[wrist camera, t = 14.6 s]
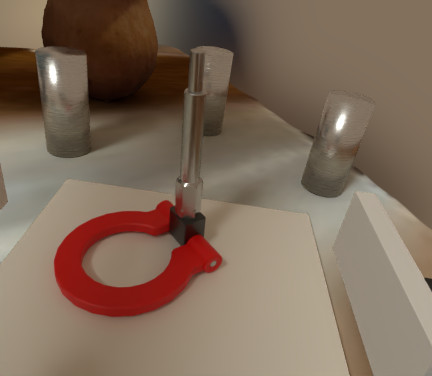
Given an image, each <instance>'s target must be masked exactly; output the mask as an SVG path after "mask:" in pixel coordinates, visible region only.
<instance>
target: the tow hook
mask: <svg viewBox="0 0 432 376" xmlns="http://www.w3.org/2000/svg"><path fill="white" fill-rule="evenodd" d="M204 65H205V51H204V50H202V49H191V50H190V64H189V83H188V88H186V89H185V90H184V105H183V127H182V148H181V170H180V177H179V178H177V180H176V195H175V203H176V204H175V206H174V205H173V204H172V203H171V202H170V201H168V200H164V201H162V202H160V203H159V204H158V205H157V206H156V209H155V210H152V211H149V212H143V211H120V212H114V213H108V214H105V215H102V216H99V217H96V218H93V219H91V220H89V221H87V222H85V223H83V224H81V225H80V226H78V227H77V228H75V229H74V230H73V231H72V232H71V233H69V234H68V235H67V236H66V237H65V239H64V240H63V241H62V243H61V244H60V246H59V247H58V249H57V252H56V255H55V258H54V272H55V278H56V282H57V284H58V286H59V288H60V290H61V292H62V294H63V295H64V296H65V297H66V298H67V299H68V300H69V301H70V302H72V303H73V304H74V305H75V306H77V307H79V308H81V309H84V310H86V311H88V312H90V313H93V314H99V315H105V316H110V317H118V316H134V315H138V314H142V313H145V312H149V311H153V310H155V309H157V308H159V307H161V306H163V305H165V304H167V303H168V302H170V301H172V300H173V299H174V298H175V297H176V296H177V295H178V294H180V293H181V292H182V291H183V290H184V289H185V287H186V285H187V284H188V282H189V281H190V279H191V278H192V275H194V274H196V273H198V272H201V271H203V270H204V271H205V272H206V273H211V272H213V271H215V270H216V269H217V268H218V267H219V266H220V265H221V263H222V256H221V255H220V254H219V253H218V252H217V251H216V250H215V249H214V248H213V247H212V246H211V245H210V244H209V243H208V241H207V240H206V239H205V238H204V232H205V222H206V217H205V216H204V215H203V214H202V213H201V212H200V210H201V205H200V204H201V199H202V187H203V181H202V179H201V178H200V164H201V152H202V140H203V127H204V115H205V102H206V91H205V90H204V89H203V78H204ZM124 231H138V232H144V233H148V234H150V235H159V234H162V233H165V232H167V231H169V232H170V234H171V235H172V236H173V237H174V238H175V240H176V241H177V242H178V243H179V244H180V247H178V248H175V249H173V251H172V252H171V259H170V262H169V264H168V266H167V267H166V269H165V270H164V271H163V272H162V273H161V274H160V275H158V276H157V277H156V278H154V279H152V280H150V281H148V282H146V283H144V284H140V285H136V286H132V287H113V286H107V285H104V284H101V283H99V282H97V281H94V280H93V279H92V278H91V277H89V276H88V275H87V274H86V272H85V271H84V269H83V267H82V261H83V257H84V255H85V254H86V252H87V250H88V249H89V248H90V247H91V246H92V245H93V244H94V243H95V242H97V241H98V240H100V239H102V238H103V237H106V236H108V235H111V234H114V233H119V232H124Z"/></svg>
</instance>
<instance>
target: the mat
mask: <svg viewBox="0 0 432 376" xmlns="http://www.w3.org/2000/svg"><path fill="white" fill-rule="evenodd" d="M164 200H168V201H170V202H171V203H172V204H173V205H174V206H175V204H176V203H175V195H174V194H168V193H161V192H154V191H147V190H141V189H134V188H127V187H120V186H114V185H107V184H100V183H93V182H86V181H80V180H73V179H67V180H66V181H65V182H64V184H63V185H62V186H61V187H60V189H59V190H58V191H57V193H56V194H55V195H54V196H53V198H52V199H51V200H50V201H49V203H48V204H47V205H46V207H45V208H44V209H43V210H42V212H41V213H40V214H39V216H38V217H37V218H36V219H35V221H34V222H33V223H32V225H31V226H30V227H29V228H28V230H27V231H26V232H25V234H24V235H23V236H22V237H21V239H20V240H19V241H18V242H17V244H16V245H15V246H14V248H13V249H12V250H11V251H10V253H9V254H8V255H7V257H6V258H5V259H4V260H3V262H2V263H1V264H0V376H350V375H349V371H348V367H347V363H346V359H345V355H344V352H343V348H342V344H341V340H340V336H339V332H338V328H337V324H336V320H335V316H334V313H333V309H332V305H331V301H330V297H329V293H328V289H327V285H326V281H325V277H324V274H323V270H322V266H321V262H320V258H319V254H318V250H317V246H316V242H315V238H314V235H313V231H312V227H311V223H310V219H309V215H308V214H303V213H296V212H290V211H283V210H276V209H269V208H262V207H256V206H249V205H242V204H235V203H229V202H222V201H215V200H208V199H201V204H200V205H201V210H200V212H201V213H202V214H203V215H204V216H205V217H206V222H205V232H204V238H205V239H206V240H207V241H208V243H209V244H210V245H211V246H212V247H213V248H214V249H215V250H216V251H217V252H218V253H219V254H220V255H221V256H222V263H221V265H220V266H219V267H218V268H217V269H216V270H215V271H213V272H211V273H206V272H205V271H204V270H203V271H201V272H198V273H196V274H194V275H192V278H191V279H190V281H189V282H188V284H187V285H186V287H185V289H184V290H183V291H182V292H181V293H180V294H178V295H177V296H176V297H175V298H174V299H173V300H172V301H170V302H168V303H167V304H165V305H163V306H161V307H159V308H157V309H155V310H153V311H149V312H145V313H142V314H138V315H134V316H118V317H110V316H105V315H99V314H93V313H90V312H88V311H86V310H84V309H81V308H79V307H77V306H75V305H74V304H73V303H72V302H70V301H69V300H68V299H67V298H66V297H65V296H64V295H63V294H62V292H61V290H60V288H59V286H58V284H57V282H56V278H55V272H54V258H55V255H56V252H57V249H58V247H59V246H60V244H61V243H62V241H63V240H64V239H65V237H66V236H67V235H68V234H69V233H71V232H72V231H73V230H74V229H75V228H77V227H78V226H80V225H81V224H83V223H85V222H87V221H89V220H91V219H93V218H96V217H99V216H102V215H105V214H108V213H114V212H120V211H143V212H149V211H152V210H155V209H156V206H157V205H158V204H159V203H160V202H162V201H164ZM178 247H180V244H179V243H178V242H177V241H176V240H175V238H174V237H173V236H172V235H171V234H170V232H169V231H167V232H165V233H162V234H159V235H150V234H148V233H144V232H138V231H124V232H119V233H114V234H111V235H108V236H106V237H103V238H102V239H100V240H98V241H97V242H95V243H94V244H93V245H92V246H91V247H90V248H89V249H88V250H87V252H86V254H85V255H84V257H83V261H82V267H83V269H84V271H85V272H86V274H87V275H88V276H89V277H91V278H92V279H93V280H94V281H97V282H99V283H101V284H104V285H107V286H113V287H132V286H136V285H140V284H144V283H146V282H148V281H150V280H152V279H154V278H156V277H157V276H158V275H160V274H161V273H162V272H163V271H164V270H165V269H166V267H167V266H168V264H169V262H170V259H171V252H172V251H173V249H175V248H178Z"/></svg>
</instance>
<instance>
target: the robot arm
mask: <svg viewBox="0 0 432 376" xmlns="http://www.w3.org/2000/svg"><path fill="white" fill-rule="evenodd" d="M7 202H8V200H7V195H6V190H5V185H4V180H3V175H2V170H1V165H0V210H1V209H2V208H3V207H4V206H5V204H6V203H7ZM333 251H334V254H335V257H336V260H337V263H338V266H339V269H340V272H341V276H342V279H343V282H344V285H345V288H346V291H347V294H348V297H349V300H350V304H351V307H352V310H353V313H354V316H355V319H356V322H357V325H358V328H359V332H360V335H361V338H362V341H363V344H364V347H365V350H366V353H367V356H368V360H369V363H370V366H371V369H372V372H373V375H374V376H432V279H429V278H424V277H423V276H422V274H421V272H420V270H419V269H418V267H417V265H416V263H415V262H414V260H413V258H412V256H411V255H410V253H409V251H408V250H407V248H406V246H405V244H404V243H403V241H402V239H401V237H400V236H399V234H398V232H397V230H396V229H395V227H394V225H393V223H392V222H391V220H390V218H389V216H388V215H387V213H386V211H385V209H384V208H383V206H382V204H381V202H380V201H379V199H378V197H377V195H376V194H372V193H365V192H358V191H355V193H354V196H353V198H352V201H351V203H350V205H349V208H348V210H347V213H346V215H345V218H344V220H343V223H342V225H341V228H340V230H339V233H338V235H337V238H336V240H335V243H334V245H333Z"/></svg>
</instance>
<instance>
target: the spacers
mask: <svg viewBox="0 0 432 376" xmlns="http://www.w3.org/2000/svg"><path fill="white" fill-rule="evenodd" d="M196 49H202V50H204V51H205V65H204V78H203V89H204V90H205V91H206V102H205V115H204V127H203V135H204V136H214V135H218V134H220V133H221V129H222V123H223V117H224V110H225V104H226V97H227V91H228V85H229V78H230V72H231V65H232V59H233V53H232V52H231V51H229V50H226V49H222V48H218V47H210V46H209V47H208V46H201V47H197V48H196ZM35 54H36V62H37V70H38V79H39V87H40V95H41V103H42V112H43V120H44V128H45V137H46V145H47V151H48V152H49V153H50V154H52V155H54V156H57V157H63V158H73V157H79V156H82V155H85V154H87V153H88V152H89V151H90V150H91V136H90V116H89V95H88V75H87V55H86V53H85V52H84V51H82V50H79V49H75V48H69V47H43V48H40V49H37V50H36V51H35ZM374 107H375V102H374V101H373V100H372V99H370V98H368V97H366V96H364V95H360V94H357V93H354V92H349V91H343V90H332V91H330V92H329V93H328V96H327V99H326V102H325V106H324V109H323V112H322V115H321V119H320V122H319V125H318V128H317V132H316V135H315V138H314V141H313V145H312V148H311V151H310V154H309V158H308V161H307V164H306V167H305V171H304V174H303V177H302V180H301V183H302V185H303V186H304V188H305V189H307V190H308V191H310V192H311V193H313V194H316V195H319V196H322V197H337V196H339V195H340V194H341V193H342V190H343V188H344V185H345V182H346V180H347V177H348V175H349V172H350V169H351V167H352V164H353V161H354V159H355V156H356V154H357V151H358V148H359V146H360V143H361V141H362V138H363V136H364V133H365V130H366V128H367V125H368V122H369V120H370V117H371V115H372V112H373V109H374Z"/></svg>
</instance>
